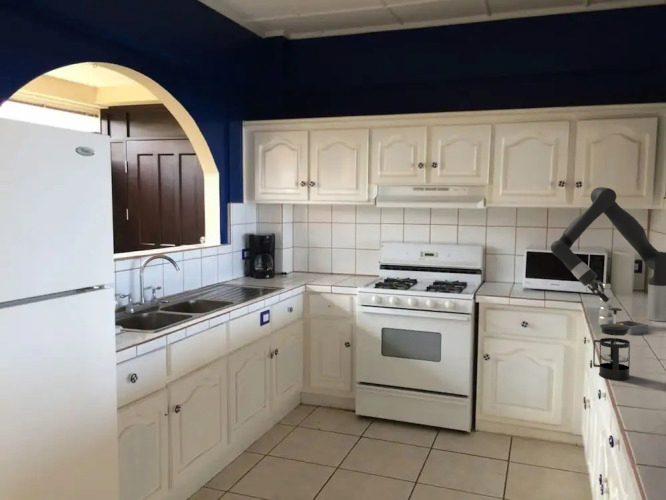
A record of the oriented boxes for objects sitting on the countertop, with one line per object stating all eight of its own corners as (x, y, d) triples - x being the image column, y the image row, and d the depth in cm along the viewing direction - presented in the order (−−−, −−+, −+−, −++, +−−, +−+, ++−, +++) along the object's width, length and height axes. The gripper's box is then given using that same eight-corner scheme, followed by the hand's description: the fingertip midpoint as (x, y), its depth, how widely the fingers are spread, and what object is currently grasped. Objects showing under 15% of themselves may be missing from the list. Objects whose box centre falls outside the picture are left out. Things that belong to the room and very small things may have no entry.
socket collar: (628, 328, 258) (628, 319, 257) (647, 332, 248) (648, 323, 248) (612, 330, 254) (612, 321, 254) (630, 334, 245) (630, 325, 244)
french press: (630, 373, 191) (631, 306, 189) (634, 381, 182) (635, 311, 180) (592, 370, 195) (593, 305, 193) (594, 378, 186) (594, 309, 184)
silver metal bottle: (605, 328, 258) (605, 285, 256) (594, 325, 264) (595, 283, 263) (617, 327, 260) (617, 284, 258) (606, 324, 266) (606, 282, 265)
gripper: (585, 270, 259) (612, 296, 253) (594, 267, 270) (620, 292, 264) (573, 280, 263) (599, 307, 257) (582, 277, 274) (607, 302, 268)
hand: (609, 299), depth 260 cm, fingers open, 8 cm apart
